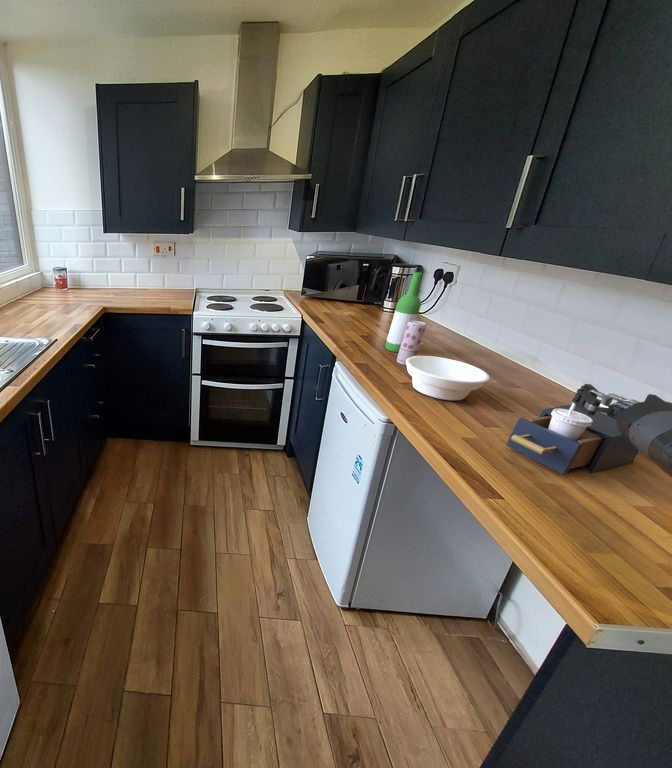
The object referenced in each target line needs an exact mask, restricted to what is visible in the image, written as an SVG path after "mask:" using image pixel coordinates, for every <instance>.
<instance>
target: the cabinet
mask: <svg viewBox="0 0 672 768" xmlns="http://www.w3.org/2000/svg"><path fill="white" fill-rule="evenodd" d="M571 406H572V404H565V405H561V406H554V407H548V408H543V409H542V411H541V413H540V414H539V417H538V418H540V417H545V416H552V415H551V413H552V411H553V409H558V408H560V409H568V410H570V408H571ZM573 411H576V412H579V413H582V414H584V415H586V416H588V417H590V418H591V419H592V420H593V422H592V424H591V426H588V427H587V428H586V429H585V430H586V431H589V432H591V433H594V434H596V435H599V436H601V437H603V438H606V439H605V440H604V442H603V444H602V445H601V447H600V449H599V451H598V452H597V454H596V456H595V457H594V459H593V461H592V463H591V464H588V465H584V466H580V467H579V468H580V469H582V470H584V471H586V472H588V473H590V474H592V473H596V472H601V471H604V470H608V469H612V468H617V467H620V466H624V465H628V464H632V463H633V462H634V461H635V459H636V457H637V456H638V454H639V453H640V451H639V450H638V449H636V448H635V447H634V446H633V445H632V444H631V443H630V442H629V441H628V440H627V439H626V438H625V437H624V436H623V435H622V434H621V433H620V432H619V430H618V427H617V424H616V420H615V419H613V418H611V417H609V416H608V415H605V414H603V413H600V412H597V411H596V413H595V415H588V414H586V413H585V412H583V411H582V410H581V409H580V408H579V407H578V406H577V405H576V406H575V408H574V410H573Z"/></svg>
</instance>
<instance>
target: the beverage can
mask: <svg viewBox="0 0 672 768" xmlns="http://www.w3.org/2000/svg"><path fill="white" fill-rule="evenodd" d="M426 325H427V324H426V322H424V321H420V320H416V321H409V322H408V324H407V327H406V330H405V334H404V337H403V340H402V343H401V347H400V350H399V353H398V354H397V357H396V362H397V363H398V364H401V365H404V366H407V365H406V360H407V358H409V357H413V356H418V353H419V350H420V347H421V343H422V340H423V337H424V334H425V330H426V327H427V326H426Z"/></svg>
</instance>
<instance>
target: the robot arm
mask: <svg viewBox="0 0 672 768" xmlns="http://www.w3.org/2000/svg"><path fill="white" fill-rule="evenodd" d="M613 401H616V402H614V403H612V402H613ZM571 402H572V404H573V403H574V404H576V405H577V406H578V407H579V408H580V409H581V410H582V411H583V412H585V413H586V414H588V415H595V413H596V411H597V412H600V413H603V414H605V415H608V416H609V417H611V418H613V419H615V420H616V424H617V427H618V430H619V432H620V433H621V434H622V435H623V436H624V437H625V438H626V439H627V440H628V441H629V442H630V443H631V444H632V445H633V446H634V447H635V448H636V449H638V450H639V453H640V454H641V455H643V456H644V457H645V458H647V459H648V460H649V461H651V462H653V463H654V464H655V465H656V466H657V467H658V468H660V470H661V471H663V473H665V474H666V475H667V476H668V477H669V478H670V479H672V401H671V402H670V401H665V400H664V399H662V398H661V397H659V395H656V394H651V393H649V394H647V396H646V398H645V399H644V401H639V400H636V399H629V398H626V397H623V396H620V395H618V394H615V393H604V392H601V391H599V390H598V389H597V388H596V387H595V386H594V385H593V384H591V383H584V384H583V385H581V387H580V388H577V390H576V392H575V395H574V397H573V398H572V400H571Z"/></svg>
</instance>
